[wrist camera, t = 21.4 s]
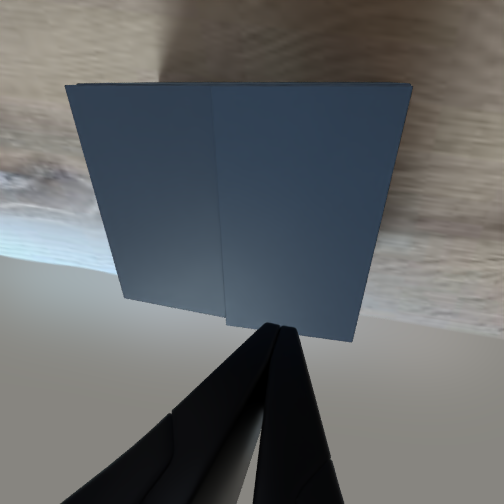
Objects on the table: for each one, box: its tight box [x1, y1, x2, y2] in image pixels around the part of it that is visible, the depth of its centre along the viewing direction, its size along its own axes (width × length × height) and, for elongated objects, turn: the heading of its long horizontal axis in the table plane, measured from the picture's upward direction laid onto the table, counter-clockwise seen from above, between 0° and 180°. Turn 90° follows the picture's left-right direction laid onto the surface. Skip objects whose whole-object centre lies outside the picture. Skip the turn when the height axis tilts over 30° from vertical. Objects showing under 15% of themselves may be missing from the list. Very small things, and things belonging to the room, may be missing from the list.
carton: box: [65, 82, 411, 318], centre depth 16 cm, size 13×11×7 cm
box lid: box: [211, 86, 413, 342], centre depth 12 cm, size 6×11×1 cm, turn 0°
